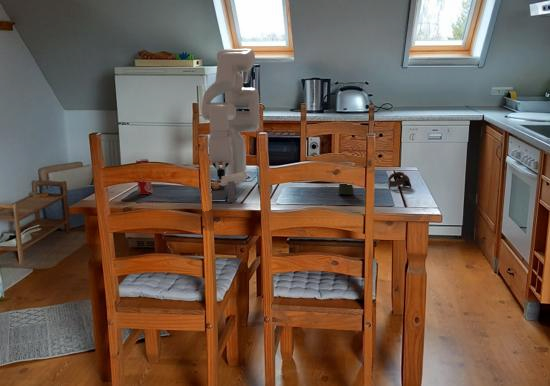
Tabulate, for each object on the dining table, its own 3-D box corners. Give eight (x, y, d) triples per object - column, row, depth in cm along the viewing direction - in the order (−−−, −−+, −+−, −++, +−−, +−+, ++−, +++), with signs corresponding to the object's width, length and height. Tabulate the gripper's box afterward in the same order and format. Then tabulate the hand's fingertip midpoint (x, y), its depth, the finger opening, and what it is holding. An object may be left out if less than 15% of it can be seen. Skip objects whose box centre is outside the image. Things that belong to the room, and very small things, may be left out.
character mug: (354, 197, 237) (354, 166, 234) (336, 197, 238) (336, 166, 235) (354, 191, 247) (354, 161, 244) (337, 191, 248) (337, 161, 245)
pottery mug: (416, 191, 248) (409, 176, 244) (395, 201, 249) (389, 186, 245) (406, 178, 258) (400, 163, 255) (387, 188, 259) (380, 173, 256)
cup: (210, 196, 244) (209, 178, 242) (226, 196, 244) (225, 177, 242) (208, 202, 235) (207, 182, 233) (225, 201, 235) (224, 182, 233)
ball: (209, 186, 240) (213, 179, 239) (217, 190, 240) (221, 183, 240) (208, 188, 237) (212, 181, 236) (216, 192, 237) (220, 185, 236)
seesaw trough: (218, 180, 247) (216, 172, 247) (248, 174, 247) (247, 166, 246) (215, 187, 235) (213, 179, 234) (248, 180, 234) (246, 172, 234)
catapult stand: (229, 194, 246) (228, 175, 244) (237, 194, 246) (236, 174, 245) (227, 203, 233) (226, 182, 231) (236, 202, 233) (235, 182, 231)
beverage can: (144, 196, 247) (142, 161, 244) (134, 194, 251) (132, 160, 248) (155, 193, 252) (153, 159, 249) (145, 191, 256) (143, 158, 252)
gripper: (238, 133, 244) (239, 176, 248) (202, 134, 244) (204, 177, 248) (237, 135, 237) (238, 179, 241) (200, 136, 237) (202, 180, 241)
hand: (221, 178), depth 245 cm, fingers closed
